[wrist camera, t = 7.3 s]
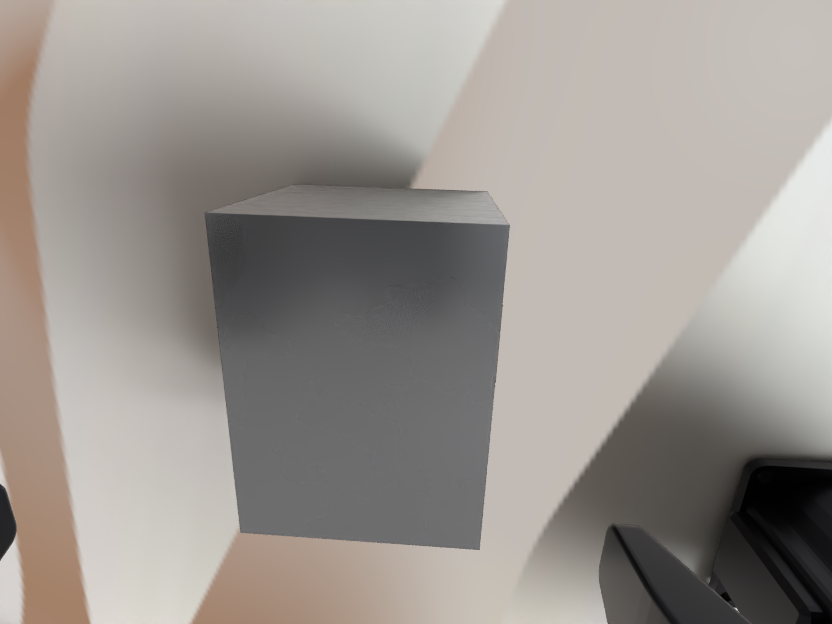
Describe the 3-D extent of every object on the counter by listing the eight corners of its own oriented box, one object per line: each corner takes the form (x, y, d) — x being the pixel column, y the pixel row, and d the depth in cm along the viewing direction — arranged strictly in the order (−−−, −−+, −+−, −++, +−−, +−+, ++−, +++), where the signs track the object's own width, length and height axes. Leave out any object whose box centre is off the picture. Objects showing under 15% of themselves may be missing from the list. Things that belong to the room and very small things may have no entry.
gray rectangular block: (487, 191, 15) (509, 225, 10) (469, 419, 18) (479, 549, 12) (293, 184, 16) (204, 213, 10) (305, 409, 18) (240, 532, 13)
